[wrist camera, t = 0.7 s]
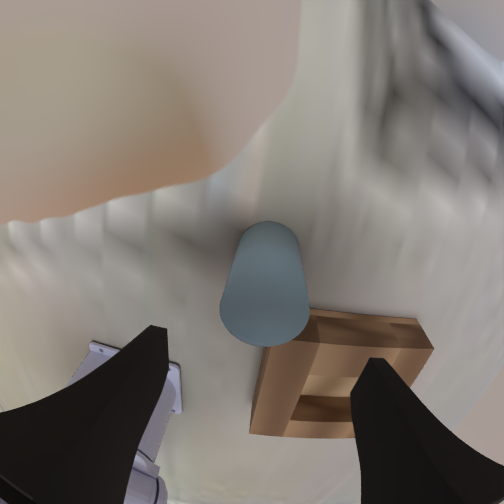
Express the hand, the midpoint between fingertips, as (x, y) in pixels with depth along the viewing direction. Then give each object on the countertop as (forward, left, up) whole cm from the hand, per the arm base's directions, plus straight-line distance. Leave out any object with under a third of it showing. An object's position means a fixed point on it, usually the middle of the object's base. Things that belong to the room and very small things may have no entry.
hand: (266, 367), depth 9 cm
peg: (0, 0, -10) cm, 10 cm away
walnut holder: (+7, -10, -10) cm, 16 cm away
